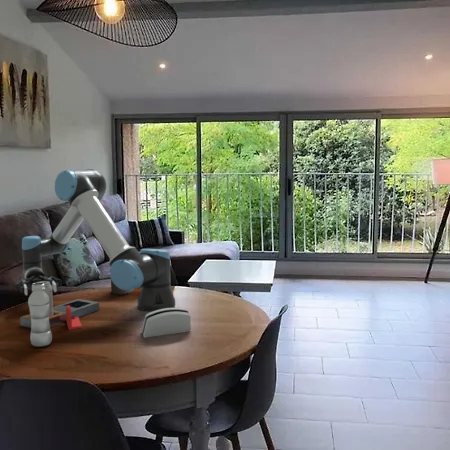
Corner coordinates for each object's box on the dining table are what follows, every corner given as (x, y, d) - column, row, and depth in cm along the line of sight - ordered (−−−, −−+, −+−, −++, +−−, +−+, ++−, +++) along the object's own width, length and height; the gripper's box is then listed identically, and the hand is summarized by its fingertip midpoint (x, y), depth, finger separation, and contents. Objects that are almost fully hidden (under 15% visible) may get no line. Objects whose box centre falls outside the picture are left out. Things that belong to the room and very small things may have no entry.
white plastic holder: (186, 326, 183) (189, 302, 179) (191, 334, 179) (194, 310, 175) (140, 332, 176) (141, 308, 172) (143, 341, 173) (145, 317, 168)
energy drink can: (36, 321, 190) (34, 281, 188) (53, 320, 192) (51, 280, 190) (35, 326, 184) (33, 285, 182) (53, 324, 186) (51, 283, 184)
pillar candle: (107, 294, 228) (106, 260, 226) (115, 288, 237) (115, 256, 235) (128, 295, 226) (128, 261, 224) (136, 289, 236) (135, 256, 233)
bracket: (82, 328, 183) (81, 307, 182) (68, 330, 181) (67, 308, 180) (78, 319, 194) (77, 298, 193) (65, 320, 192) (64, 299, 191)
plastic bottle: (40, 350, 161) (36, 287, 158) (26, 346, 165) (22, 284, 162) (56, 344, 166) (53, 283, 164) (42, 340, 170) (39, 280, 167)
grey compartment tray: (99, 309, 204) (99, 301, 203) (41, 330, 180) (41, 321, 179) (79, 306, 209) (78, 298, 209) (20, 325, 185) (20, 316, 185)
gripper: (63, 283, 218) (72, 296, 198) (6, 289, 209) (9, 303, 189) (62, 266, 217) (71, 276, 197) (5, 271, 208) (8, 283, 188)
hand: (41, 289), depth 193 cm, fingers open, 10 cm apart
